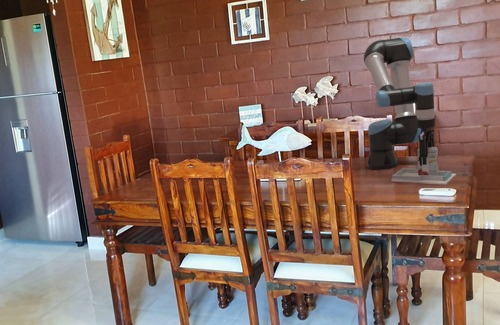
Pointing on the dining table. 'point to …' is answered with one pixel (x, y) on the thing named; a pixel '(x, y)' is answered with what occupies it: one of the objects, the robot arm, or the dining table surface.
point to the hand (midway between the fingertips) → (428, 169)
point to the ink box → (432, 162)
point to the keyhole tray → (421, 177)
